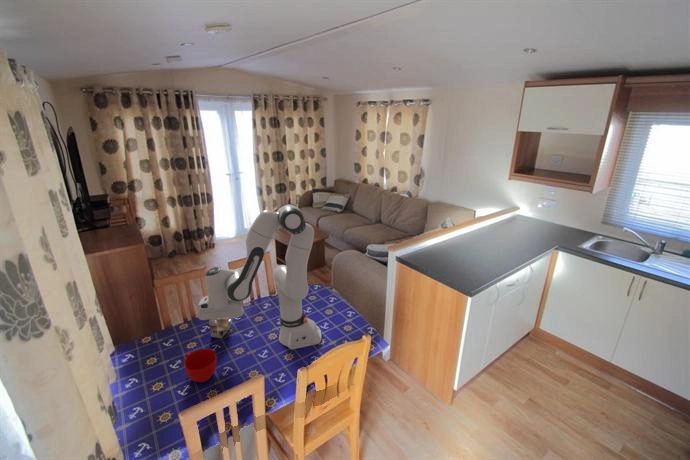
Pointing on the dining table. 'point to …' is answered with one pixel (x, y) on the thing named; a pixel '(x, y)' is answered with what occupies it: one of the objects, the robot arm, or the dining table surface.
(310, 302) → the dining table surface
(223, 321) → the maple cube
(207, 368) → the ceramic cup
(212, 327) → the coffee box
